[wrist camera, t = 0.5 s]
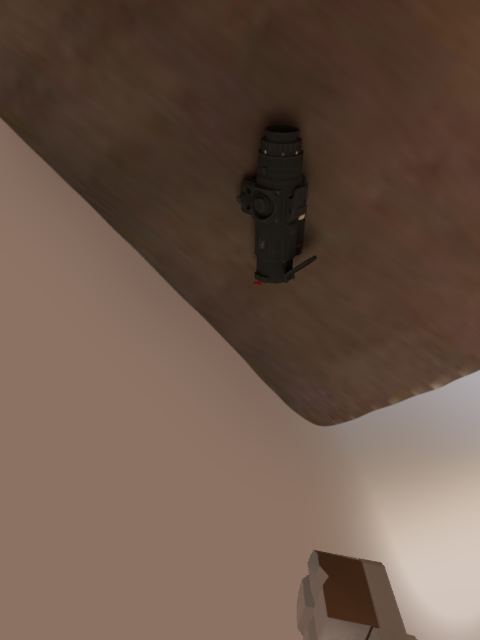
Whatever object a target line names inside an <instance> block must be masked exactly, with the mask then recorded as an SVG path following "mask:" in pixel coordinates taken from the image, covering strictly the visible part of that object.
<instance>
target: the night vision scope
mask: <svg viewBox="0 0 480 640" xmlns="http://www.w3.org/2000/svg"><path fill="white" fill-rule="evenodd" d="M265 131H266V136H265V137H263V138H262V139H261V149H259V161H258V172H257V176H253V179H250V180H246V179H244V180H243V182H242V194H240V195H239V196H237V201H238V202H239V203H241V209H242V211H243V212H244V213H247V214H250V215H252V217H253V218H254V219H255V220H256V228H255V230H256V236H255V254H256V256H257V271H256V272H255V279H257V281H256V282H253V284H258V285H260V286H261V285H262V282H263V283H282V282H285V283H287V282H288V281H289V280H291V279H294V278H295V274H294V273H296V272H297V271H299V270H301V269H302V268H304V267H305V266H307V265H309V264H310V263H311V262H313V261H314V260H316V259H317V257H316V256H313V257H311V258H309V259H308V260H306V261H304V262H302V263H301V264H299V265H298V266H296V267H294V268H292V265H293V258H294V256H295V255H299V254H300V253H301V251H302V244H301V243H302V242H303V230H304V219H305V218H304V216H305V213H306V211H307V206H306V199H307V182H306V181H304V179H305V177H304V179H302V173H301V172H302V159H303V151H302V150H301V145H302V139H301V138H299V137H298V132H299V128H295V127H292V126H283V125H278V126H269V127H266V128H265Z"/></svg>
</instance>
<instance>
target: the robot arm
mask: <svg viewBox="0 0 480 640" xmlns="http://www.w3.org/2000/svg"><path fill="white" fill-rule="evenodd" d="M308 571H309V575H307V576H306V577H304V578H303V579H302V582H301V585H300V589H299V593H298V601H297V626H298V629H299V631H300V632H301V634H302V635H303V637H304V638H303V640H417V639H416V638H415V636H412V635H408V634H407V633H406V630H405V627H404V624H403V621H402V618H401V615H400V612H399V609H398V606H397V603H396V600H395V597H394V594H393V591H392V588H391V585H390V582H389V579H388V576H387V573H386V570H385V567H384V565H383V564H382V563H381V562H376V561H370V560H365V559H360V558H359V559H357V558H353V557H348V556H343V555H337V554H332V553H327V552H322V551H316V550H314V551H313V552H312V553H311V555H310V558H309V561H308Z"/></svg>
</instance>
